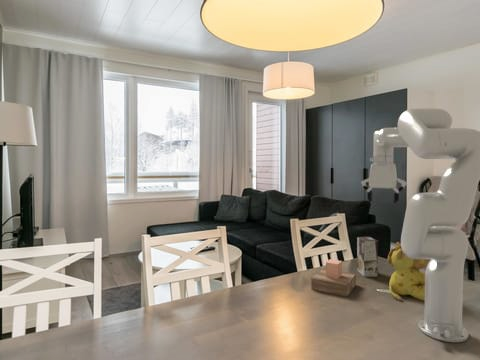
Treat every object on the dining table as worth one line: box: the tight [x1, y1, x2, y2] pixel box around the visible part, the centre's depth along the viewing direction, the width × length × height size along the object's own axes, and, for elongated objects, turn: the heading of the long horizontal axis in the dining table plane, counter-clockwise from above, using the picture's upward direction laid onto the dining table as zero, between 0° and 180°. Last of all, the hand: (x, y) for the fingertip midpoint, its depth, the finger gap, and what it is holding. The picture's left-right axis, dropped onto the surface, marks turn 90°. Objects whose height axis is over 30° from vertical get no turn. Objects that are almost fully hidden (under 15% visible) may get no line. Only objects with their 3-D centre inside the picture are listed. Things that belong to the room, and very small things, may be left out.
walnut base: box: [310, 268, 357, 297], centre depth 132 cm, size 14×14×4 cm
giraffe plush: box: [376, 241, 430, 302], centre depth 126 cm, size 20×24×19 cm
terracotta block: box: [325, 258, 343, 279], centre depth 132 cm, size 5×5×6 cm
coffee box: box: [356, 236, 379, 278], centre depth 148 cm, size 9×6×16 cm
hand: (382, 202), depth 134 cm, fingers open, 9 cm apart
